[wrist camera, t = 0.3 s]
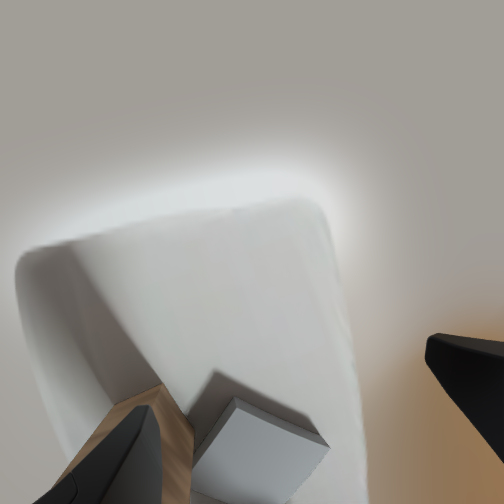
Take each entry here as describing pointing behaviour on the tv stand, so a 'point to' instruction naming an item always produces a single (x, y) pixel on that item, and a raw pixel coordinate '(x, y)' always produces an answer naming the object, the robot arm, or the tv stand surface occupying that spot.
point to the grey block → (254, 457)
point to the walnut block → (172, 441)
